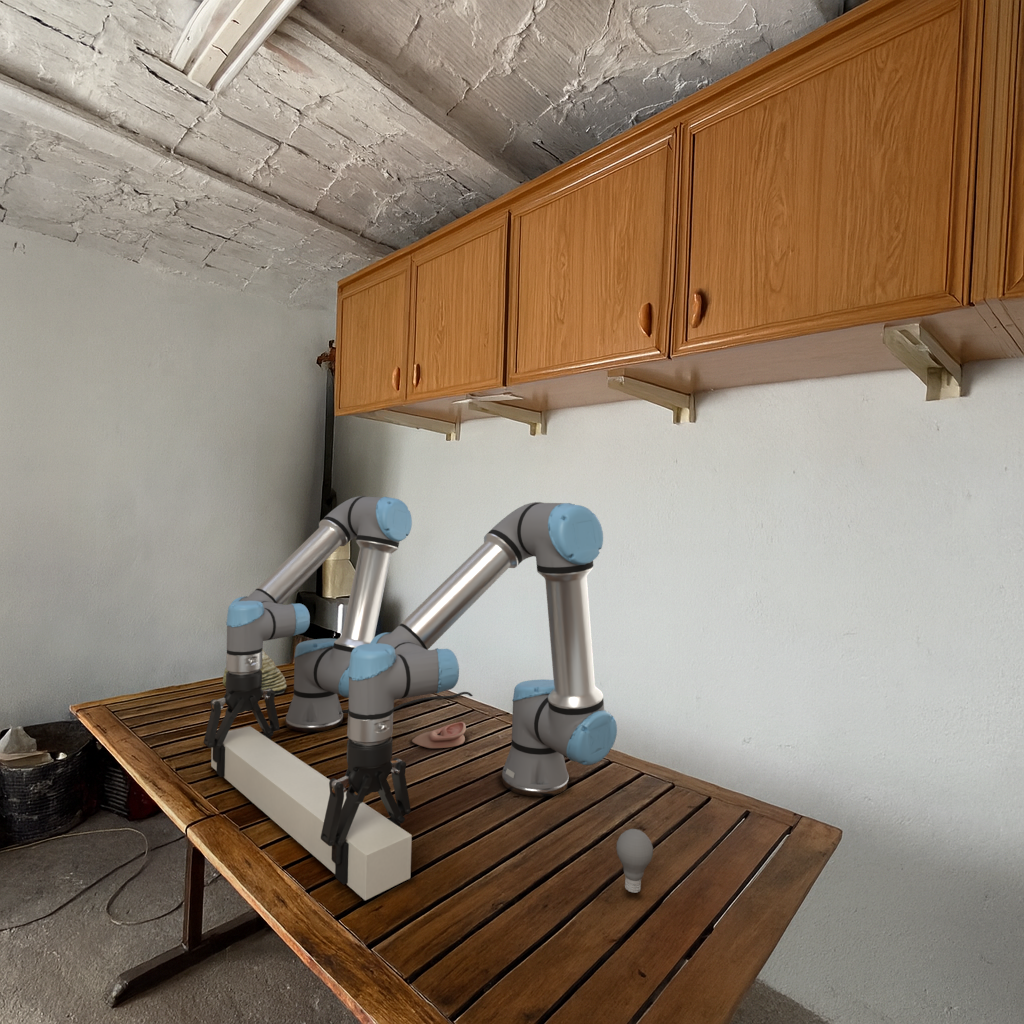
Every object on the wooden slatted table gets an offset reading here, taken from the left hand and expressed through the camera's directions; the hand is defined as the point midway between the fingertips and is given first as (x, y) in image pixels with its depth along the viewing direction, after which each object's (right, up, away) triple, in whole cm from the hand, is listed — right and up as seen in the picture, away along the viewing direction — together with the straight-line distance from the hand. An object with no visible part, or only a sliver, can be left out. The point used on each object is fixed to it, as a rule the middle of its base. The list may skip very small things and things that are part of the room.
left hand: (242, 768), depth 144 cm
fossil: (-19, +1, +54) cm, 58 cm away
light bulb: (+81, -5, -38) cm, 90 cm away
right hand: (+37, -2, -36) cm, 52 cm away
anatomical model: (+42, -2, +23) cm, 48 cm away
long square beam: (+18, -2, -18) cm, 26 cm away
